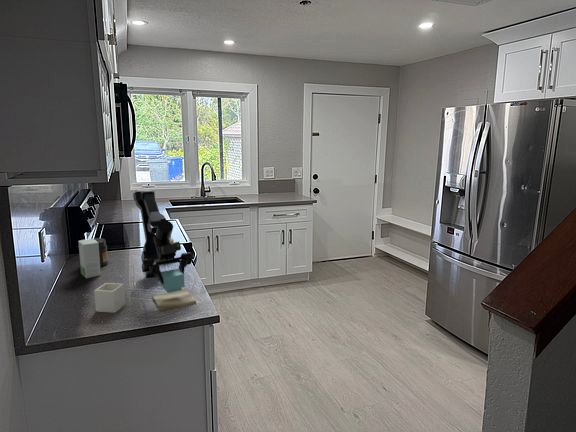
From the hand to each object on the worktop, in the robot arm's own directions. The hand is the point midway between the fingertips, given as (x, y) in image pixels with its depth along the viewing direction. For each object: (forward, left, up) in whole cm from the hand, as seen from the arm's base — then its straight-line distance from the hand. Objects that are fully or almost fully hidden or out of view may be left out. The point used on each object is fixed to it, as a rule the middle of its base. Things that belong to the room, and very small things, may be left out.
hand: (173, 281), depth 146 cm
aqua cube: (-1, 0, -4) cm, 4 cm away
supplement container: (-56, -31, -8) cm, 65 cm away
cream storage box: (-2, -22, -8) cm, 24 cm away
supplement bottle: (-54, +2, -8) cm, 55 cm away
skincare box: (-42, -32, -8) cm, 54 cm away
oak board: (0, 0, -8) cm, 8 cm away
